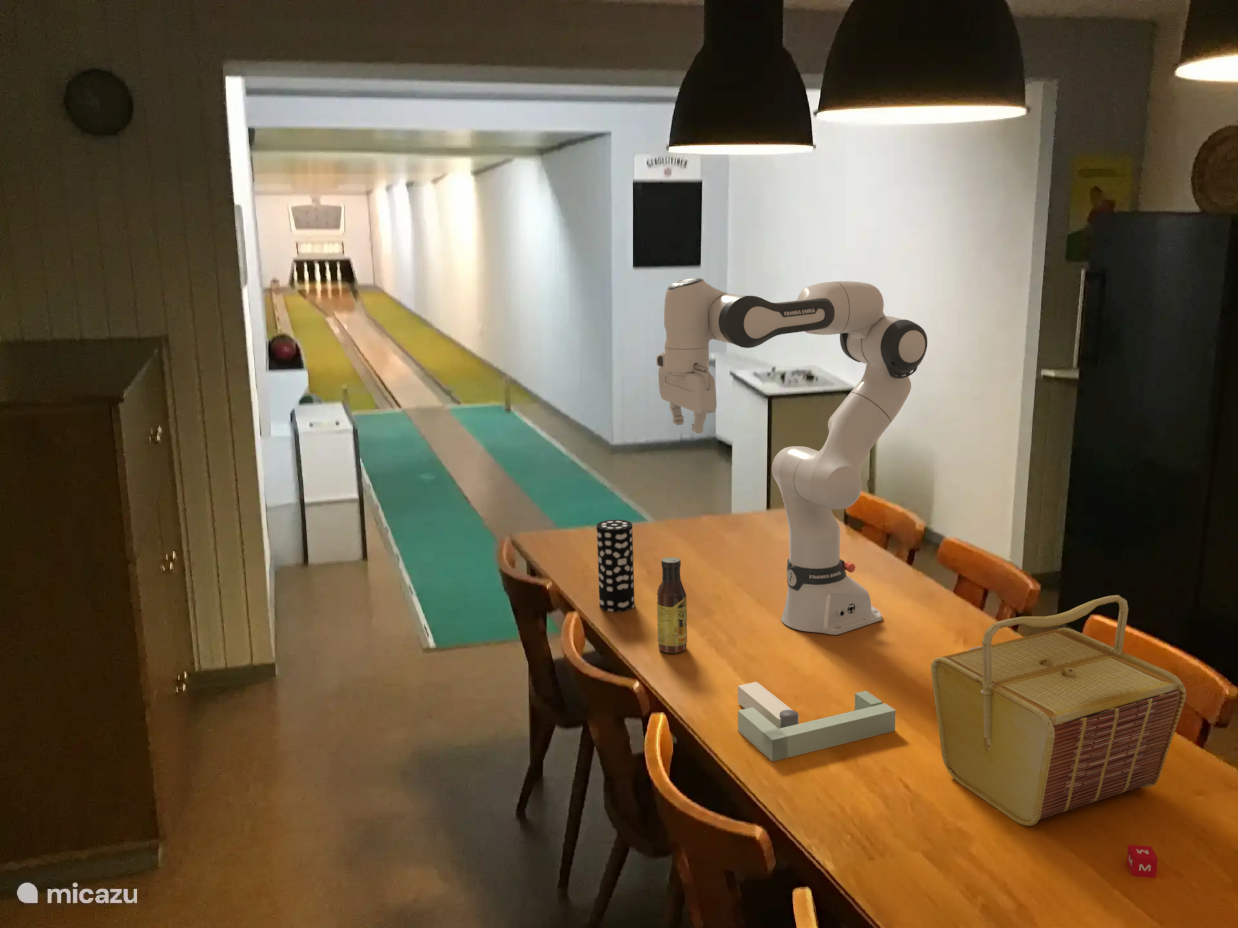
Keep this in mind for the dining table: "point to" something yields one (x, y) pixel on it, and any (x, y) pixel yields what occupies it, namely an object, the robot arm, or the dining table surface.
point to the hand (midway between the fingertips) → (687, 428)
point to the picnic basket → (1054, 717)
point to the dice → (1142, 861)
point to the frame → (817, 729)
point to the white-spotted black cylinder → (615, 565)
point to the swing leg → (766, 705)
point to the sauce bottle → (671, 608)
